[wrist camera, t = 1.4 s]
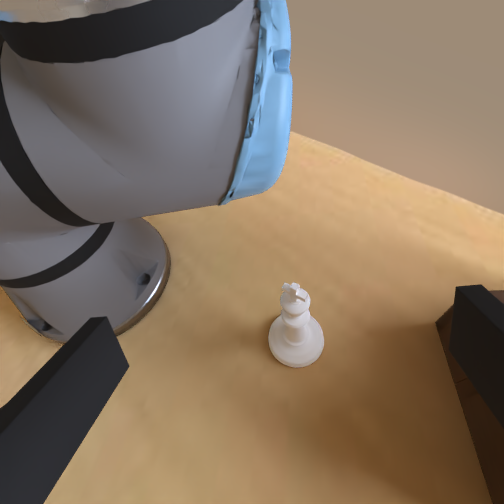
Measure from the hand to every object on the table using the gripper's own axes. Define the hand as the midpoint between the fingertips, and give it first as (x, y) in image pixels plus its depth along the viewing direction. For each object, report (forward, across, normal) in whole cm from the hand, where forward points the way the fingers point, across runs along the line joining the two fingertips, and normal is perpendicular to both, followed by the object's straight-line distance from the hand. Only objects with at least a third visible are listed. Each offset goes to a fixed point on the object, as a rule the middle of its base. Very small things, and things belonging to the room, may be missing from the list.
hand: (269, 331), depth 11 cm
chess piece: (+12, 0, -11) cm, 16 cm away
